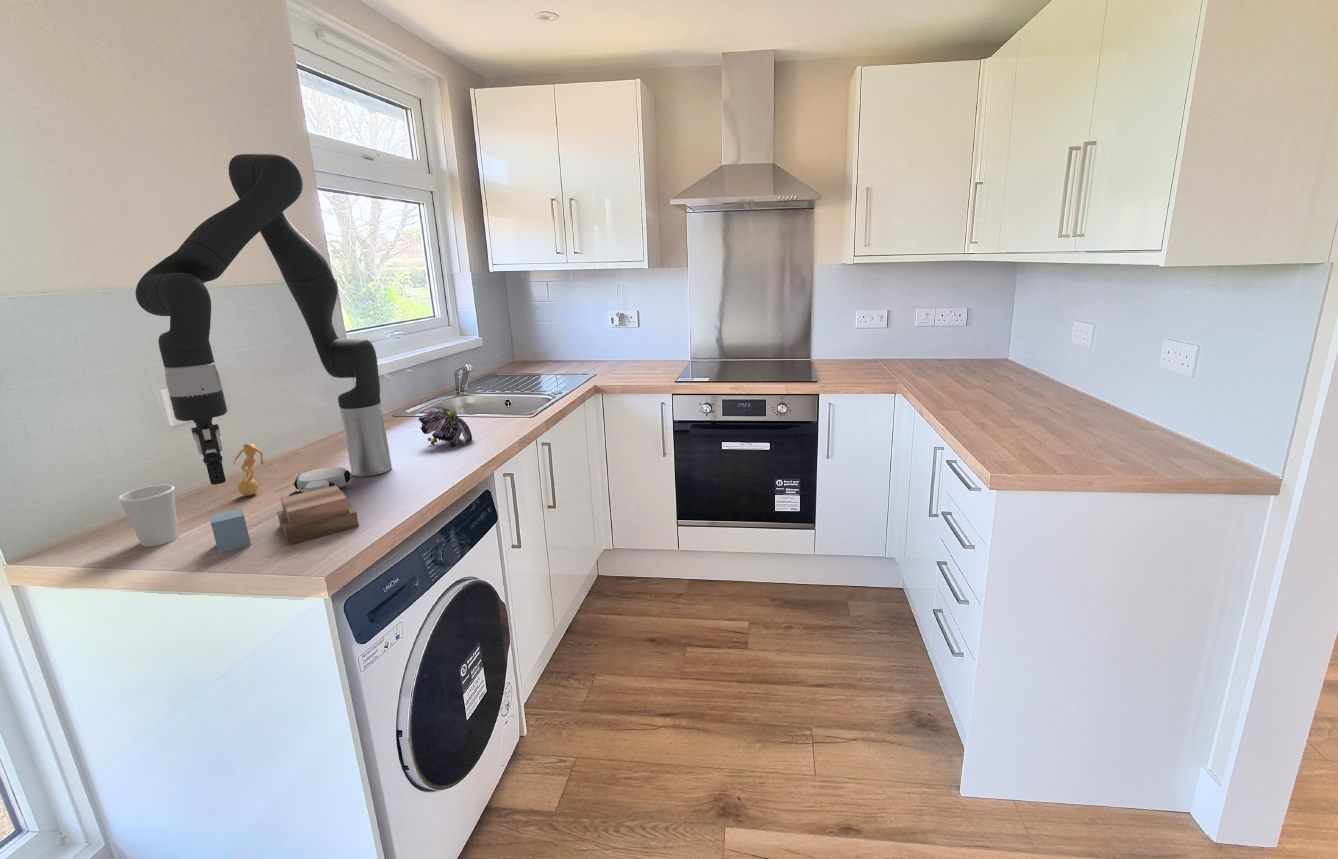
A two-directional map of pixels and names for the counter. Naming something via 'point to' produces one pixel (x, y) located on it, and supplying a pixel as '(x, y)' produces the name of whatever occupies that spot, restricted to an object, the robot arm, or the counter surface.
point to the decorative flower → (444, 426)
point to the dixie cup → (152, 514)
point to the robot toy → (321, 479)
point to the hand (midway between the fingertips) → (217, 477)
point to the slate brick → (230, 530)
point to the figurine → (249, 484)
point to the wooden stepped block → (316, 514)
